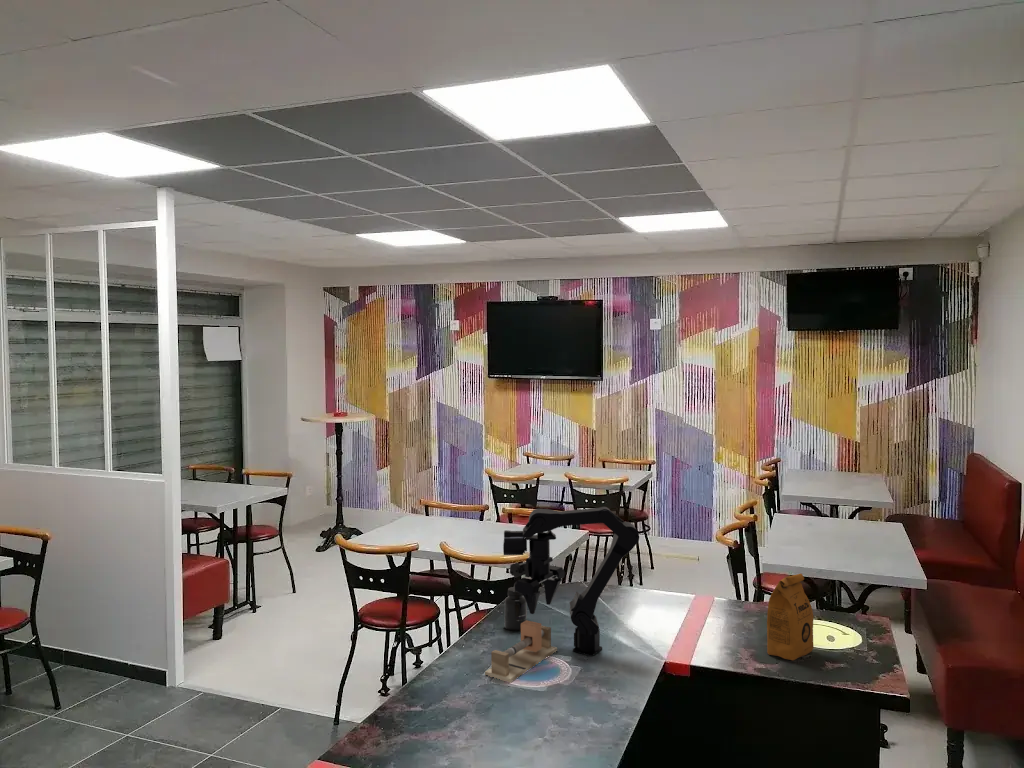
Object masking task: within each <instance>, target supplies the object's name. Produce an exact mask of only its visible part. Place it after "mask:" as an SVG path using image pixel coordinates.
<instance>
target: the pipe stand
mask: <svg viewBox="0 0 1024 768" xmlns="http://www.w3.org/2000/svg"><path fill="white" fill-rule="evenodd" d="M541 634H542V649H540V650H538V651H537V652H534V651H530V650H526V649H524V648H525V647H527V646H528V645H530V644H532V637H527V638H525V639H524V640H522V641H521V640H520V641H519V642H517V643H515V644H514V645H512V646H510V647H508V648H507V649H506V650H504V651H501V650H496V649H494V650H492V651H491V652H490V654H491V655H490V656H491V661H490V662H491V665H490V668H488V669H487V670H485V671H484V676H485V675H488V676H487V677H489V676H490V678H492V677H494V678H493V679H496V678H497V679H496V680H499V679H500V681H504V682H506V681H508V683H510V682H511V683H512V682H513V680H514V681H515V680H516V678H517V677H518V678H519V676H520V675H521V676H523V675H524V674H525V672H526V671H527V670H528V671H530V670H531V669H533V668H534V667H536V666H537V665H538V663H539V662H540V663H541V661H542V660H543V659H545V658H546V657H548V656H549V657H551V656H553V653H554V652H555V653H557V652H558V647H556V646H552V627H549V626H546V625H542V624H541ZM556 651H557V652H556ZM555 653H554V654H555ZM550 655H551V656H550ZM549 657H548V658H549ZM546 659H547V658H546ZM546 659H545V660H546ZM543 661H544V660H543ZM543 661H542V662H543ZM540 663H539V664H540ZM536 664H537V665H536ZM535 665H536V666H535ZM533 666H534V667H533ZM532 667H533V668H532ZM530 668H531V669H530ZM529 669H530V670H529ZM528 671H527V672H528ZM527 672H526V673H527ZM523 673H524V674H523ZM522 674H523V675H522ZM521 676H520V677H521ZM518 678H517V679H518Z"/></svg>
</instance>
